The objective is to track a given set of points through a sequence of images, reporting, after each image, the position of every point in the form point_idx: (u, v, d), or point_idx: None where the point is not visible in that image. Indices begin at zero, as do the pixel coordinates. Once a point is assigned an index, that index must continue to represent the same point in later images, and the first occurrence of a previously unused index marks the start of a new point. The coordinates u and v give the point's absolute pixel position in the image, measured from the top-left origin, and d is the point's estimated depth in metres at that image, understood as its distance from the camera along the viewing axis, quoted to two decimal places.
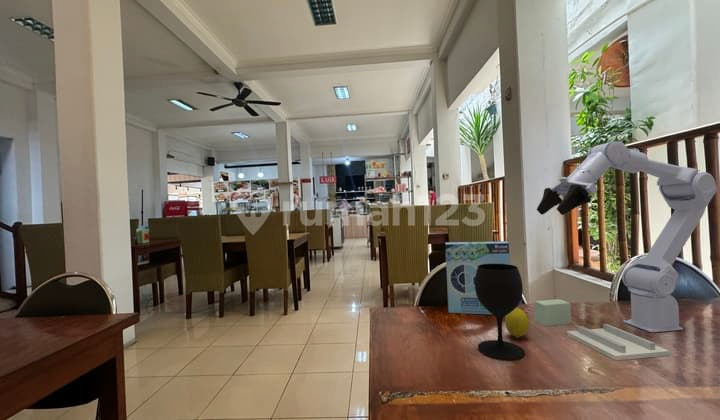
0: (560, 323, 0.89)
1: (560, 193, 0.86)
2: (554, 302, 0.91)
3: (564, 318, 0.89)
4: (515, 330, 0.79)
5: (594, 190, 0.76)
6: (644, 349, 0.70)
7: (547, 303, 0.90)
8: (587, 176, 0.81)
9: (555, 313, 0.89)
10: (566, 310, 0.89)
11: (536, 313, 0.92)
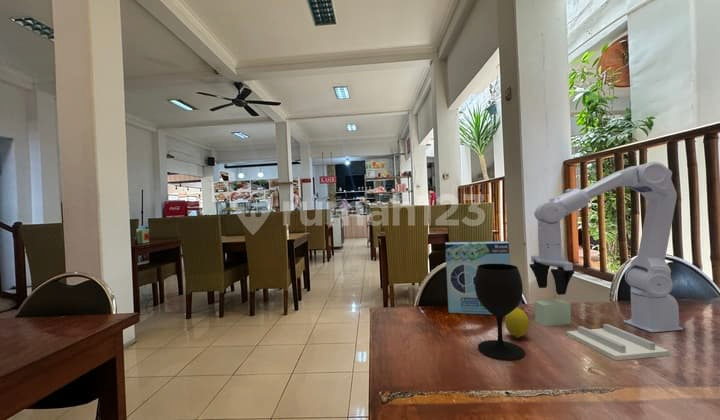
0: (560, 323, 0.89)
1: (544, 263, 0.94)
2: (554, 302, 0.91)
3: (564, 318, 0.89)
4: (515, 330, 0.79)
5: (571, 266, 0.84)
6: (644, 349, 0.70)
7: (547, 302, 0.90)
8: (553, 249, 0.88)
9: (555, 313, 0.89)
10: (566, 310, 0.89)
11: (536, 313, 0.92)
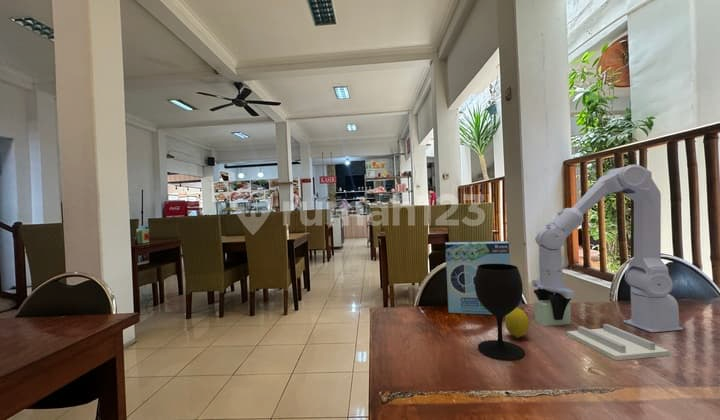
0: (560, 323, 0.89)
1: (545, 289, 0.94)
2: None
3: (564, 317, 0.89)
4: (515, 330, 0.79)
5: (572, 295, 0.84)
6: (644, 349, 0.70)
7: (547, 302, 0.90)
8: (555, 275, 0.88)
9: None
10: (566, 310, 0.89)
11: (536, 312, 0.92)
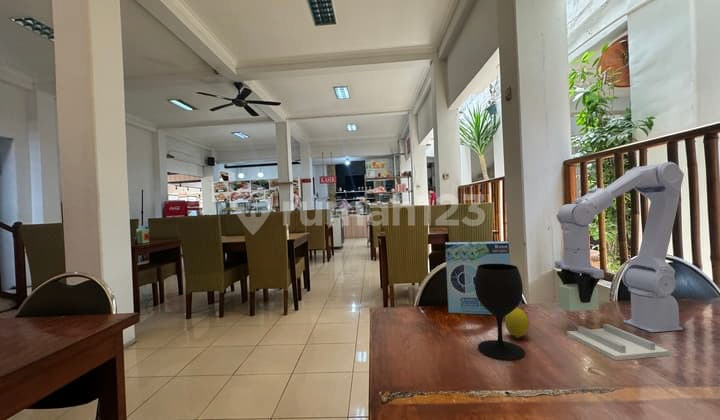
0: (587, 308, 0.82)
1: (569, 270, 0.86)
2: None
3: (591, 302, 0.82)
4: (515, 330, 0.79)
5: (602, 274, 0.76)
6: (644, 349, 0.70)
7: (572, 286, 0.83)
8: (581, 254, 0.81)
9: None
10: (593, 294, 0.82)
11: (559, 297, 0.85)
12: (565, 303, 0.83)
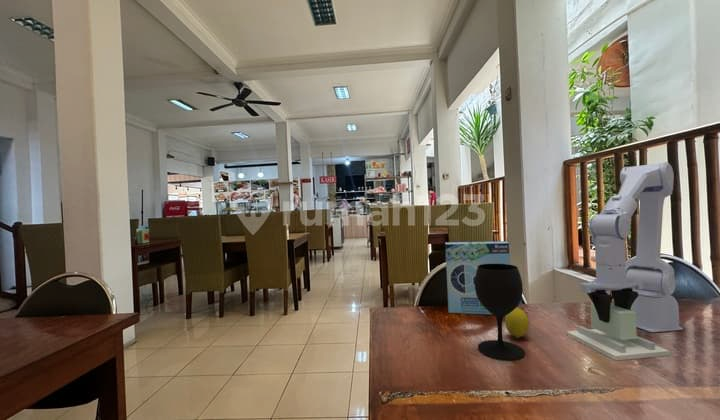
0: (608, 332, 0.75)
1: None
2: (614, 308, 0.75)
3: (612, 328, 0.73)
4: (515, 330, 0.79)
5: (585, 289, 0.74)
6: (644, 349, 0.70)
7: None
8: (597, 268, 0.76)
9: None
10: (615, 320, 0.73)
11: None
12: None
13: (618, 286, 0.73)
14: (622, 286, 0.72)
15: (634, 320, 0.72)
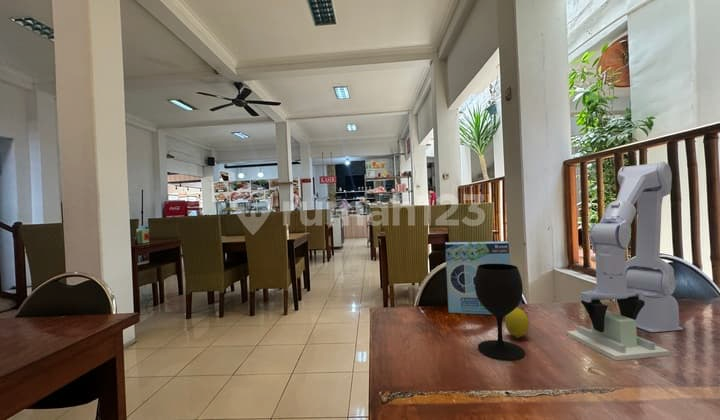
0: None
1: None
2: (614, 316, 0.75)
3: (613, 336, 0.73)
4: (515, 330, 0.79)
5: (585, 298, 0.74)
6: (644, 349, 0.70)
7: None
8: (597, 277, 0.76)
9: None
10: (615, 328, 0.73)
11: None
12: None
13: (618, 295, 0.73)
14: (622, 295, 0.72)
15: (634, 328, 0.72)
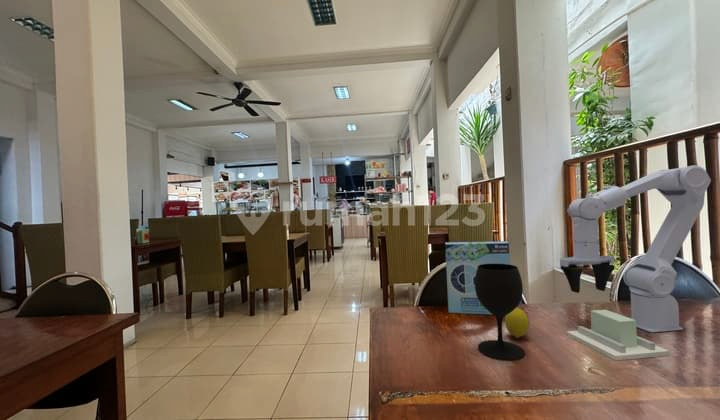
0: None
1: None
2: (614, 316, 0.75)
3: (613, 336, 0.73)
4: (515, 330, 0.79)
5: (563, 263, 0.85)
6: (644, 349, 0.70)
7: (604, 313, 0.77)
8: (574, 246, 0.87)
9: (602, 326, 0.76)
10: (615, 328, 0.73)
11: None
12: None
13: (592, 260, 0.84)
14: (595, 260, 0.84)
15: (634, 328, 0.72)
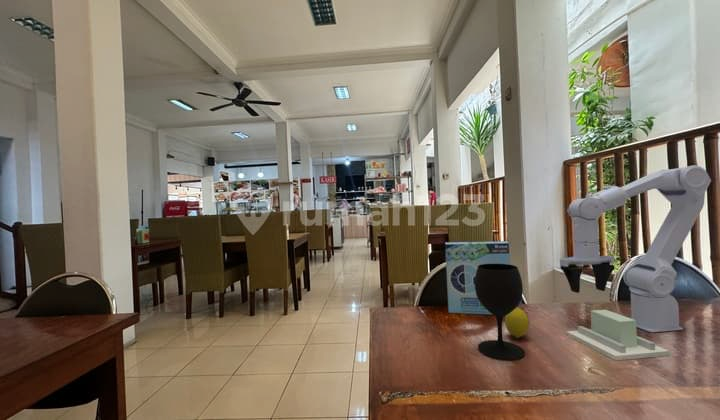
0: None
1: None
2: (614, 316, 0.75)
3: (613, 336, 0.73)
4: (515, 330, 0.79)
5: (563, 263, 0.86)
6: (644, 349, 0.70)
7: (604, 313, 0.77)
8: (574, 246, 0.87)
9: (602, 326, 0.76)
10: (615, 328, 0.73)
11: None
12: None
13: (591, 260, 0.84)
14: (595, 260, 0.84)
15: (634, 328, 0.72)
